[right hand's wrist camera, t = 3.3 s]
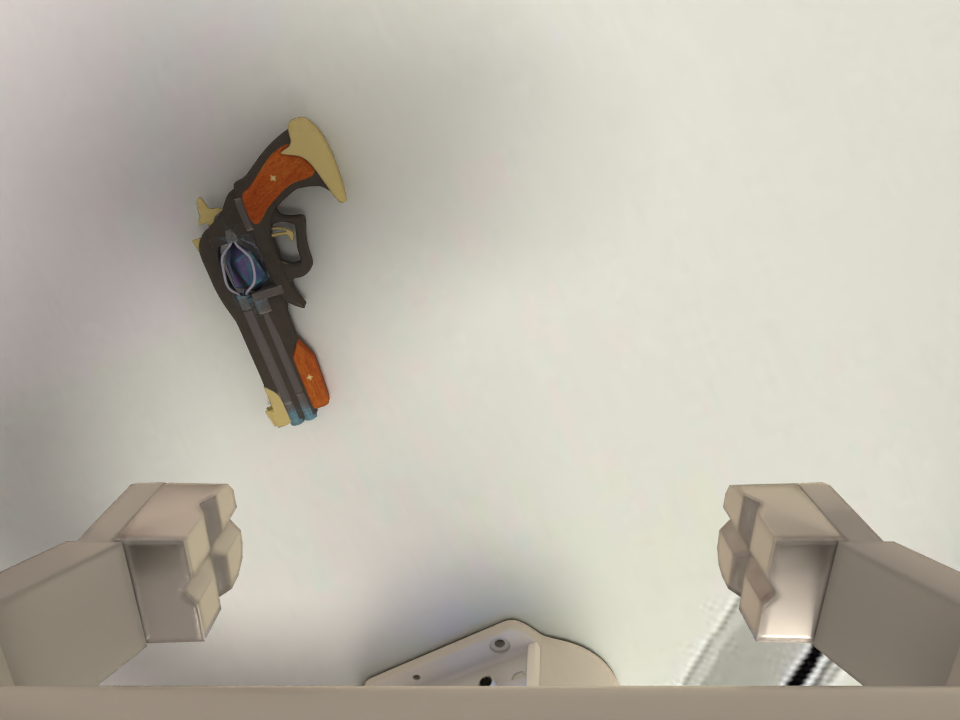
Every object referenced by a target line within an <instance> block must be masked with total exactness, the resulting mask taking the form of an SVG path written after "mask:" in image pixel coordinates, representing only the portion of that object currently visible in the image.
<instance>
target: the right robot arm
mask: <svg viewBox="0 0 960 720" xmlns="http://www.w3.org/2000/svg"><path fill="white" fill-rule="evenodd" d="M236 508H237V505H236V500H235V496H234V491H233V489H232V488H231V487H230V486H229V485H228V484H200V483H164V482H163V483H136V484H132V485H130V486H129V487H128V488H127V489H126V490H125V491H124V492H123V493H122V494H121V495H120V497H119V498H118V499H117V500H116V501H115V502H114V503H113V504H112V505H111V506H110V507H109V508H108V509H107V510H106V511H105V512H104V513H103V514H102V515H101V516H100V517H99V518H98V519H97V521H96V522H95V523H94V524H93V525H92V526H91V527H90V528H89V529H88V530H87V531H86V532H85V533H84V534H83V535H82V536H81V537H80V538H79V539H78V540H77V541H76V542H64V543H62V544H60V545H58V546H56V547H53V548H51V549H49V550H47V551H45V552H43V553H40V554H38V555H36V556H34V557H32V558H30V559H27V560H25V561H23V562H21V563H19V564H16V565H14V566H12V567H10V568H8V569H6V570H3V571H1V572H0V720H960V572H959V571H956V570H954V569H952V568H950V567H948V566H946V565H943V564H941V563H939V562H937V561H935V560H933V559H930V558H928V557H926V556H924V555H922V554H920V553H917V552H915V551H913V550H911V549H909V548H907V547H904V546H902V545H900V544H898V543H896V542H884V541H883V540H882V539H881V538H880V537H879V536H878V535H877V534H876V533H875V532H874V531H873V530H872V529H871V528H870V527H869V526H868V525H867V524H866V523H865V522H864V520H863V519H862V518H861V517H860V516H859V515H858V514H857V513H856V512H855V511H854V510H853V509H852V508H851V507H850V506H849V505H848V504H847V503H846V502H845V501H844V500H843V498H842V497H841V496H840V495H839V494H838V493H837V492H836V491H835V490H834V489H833V488H832V487H831V486H830V485H828V484H825V483H823V482H814V483H791V484H752V485H729V487H728V490H727V492H726V494H725V499H724V505H723V508H724V509H725V511H726V513H727V514H728V516H729V518H730V520H729V521H728V522H727V523H726V524H725V525H724V526H723V527H722V528H721V529H720V530H719V537H718V545H717V551H718V562H719V567H720V571H721V574H722V577H723V579H724V581H725V583H726V585H727V587H728V589H730V590H731V591H733V592H734V593H736V594H737V595H739V596H740V597H741V599H740V605H739V610H740V612H741V614H742V616H743V618H744V620H745V621H746V623H747V625H748V627H749V629H750V631H751V633H752V634H753V636H754V638H755V640H756V641H761V642H797V643H813V646H814V647H815V648H817V649H818V650H819V651H820V652H822V653H823V654H824V655H825V656H827V657H828V658H829V659H830V660H832V661H833V662H834V663H835V664H837V665H838V666H839V667H840V668H842V669H843V670H844V671H845V672H847V673H848V674H849V675H850V676H852V677H853V678H854V679H855V680H857V681H858V682H859V683H860V684H862V685H863V686H618V683H617V680H616V678H615V676H614V674H613V672H612V671H611V669H610V668H609V667H608V666H607V664H606V663H605V662H604V661H603V660H602V659H600V658H599V657H598V656H597V655H595V654H594V653H592V652H591V651H589V650H587V649H585V648H583V647H581V646H579V645H576V644H573V643H570V642H567V641H563V640H558V639H554V638H550V637H547V636H544V635H541V634H540V633H539V632H537V631H536V630H534V629H533V628H531V627H530V626H528V625H526V624H524V623H522V622H520V621H517V620H507V621H504V622H501V623H499V624H496V625H494V626H492V627H489V628H487V629H485V630H482V631H480V632H478V633H475V634H473V635H471V636H468V637H466V638H463V639H461V640H459V641H456V642H454V643H452V644H449V645H447V646H445V647H442V648H440V649H438V650H435V651H433V652H430V653H428V654H426V655H423V656H421V657H419V658H416V659H414V660H412V661H409V662H407V663H405V664H402V665H400V666H397V667H395V668H393V669H390V670H388V671H386V672H383V673H381V674H379V675H376V676H374V677H372V678H370V679H368V680H367V681H366V682H365V685H364V686H97V685H99V684H100V683H101V682H102V681H104V680H105V679H106V678H107V677H109V676H110V675H111V674H112V673H114V672H115V671H116V670H117V669H119V668H120V667H121V666H122V665H124V664H125V663H126V662H127V661H129V660H130V659H131V658H132V657H134V656H135V655H136V654H137V653H139V652H140V651H141V650H142V649H144V648H145V647H146V646H147V644H146V643H162V642H197V641H204V640H205V638H206V636H207V635H208V633H209V631H210V629H211V627H212V625H213V623H214V621H215V620H216V618H217V616H218V614H219V612H220V610H221V605H220V599H219V597H220V596H221V595H223V594H224V593H226V592H227V591H229V590H230V589H232V587H233V585H234V583H235V581H236V579H237V577H238V575H239V570H240V566H241V561H242V536H241V530H240V529H239V528H238V527H237V526H236V525H235V524H234V523H233V522H232V521H231V520H230V518H231V516H232V514H233V513H234V511H235V509H236ZM499 639H500V640H501V641H498V640H499Z"/></svg>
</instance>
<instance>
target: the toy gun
mask: <svg viewBox="0 0 960 720" xmlns="http://www.w3.org/2000/svg"><path fill="white" fill-rule="evenodd" d="M307 186H322V187H324V188H326V189H328V190H330V191H331V192H332V194H333V195H334V196H335V197H336V199H337V200H338V201H339V202H341V203H343V202H345V201H347V198H346V193H345V189H344V186H343V182H342V179H341V176H340V173H339V170H338V167H337V165H336V162H335V159H334V156H333V154H332V151H331V149H330V147H329V145H328V143H327V141H326V140H325V138H324V136H323V135H322V133H321V132H320V130H319V129H318V128H317V127H316V126H315V125H314V124H313V123H312V122H311V121H310V120H308V119H306V118H304V117H299V118H296V119H293V120H291V121H290V122H289V124H288V130H286V131H285V132H283V133H282V134H281V135H279V136H278V137H277V138H276V139H275V140H274V141H273V142H272V143H271V144H270V145H269V146H268V147H267V148H266V149H265V150H264V152H263V153H262V154H261V155H260V157H259V158H258V159H257V161H256V162H255V164H254V165H253V166H252V168H251V169H250V171H249V172H248V173H247V175H246V176H245V177H244V178H242V179H240V180H238V181H236V182H235V184H234V189H233V190H232V191H231V192H230V193H229V194H228V196H227V198H226V201H225V204H224V206H223V209H221V208H213V209H210V208H209V207H208V206H207V205H206V203H205V202H204V201H203V199H202V198H201V197H199V198H198V200H197V208H198V212H199V215H200V218H199V225H202V224H204V223H207V224H208V225H209V228H208V229H207V230H206V231H205V232H204V233H203V235H202V237H201V238H199V239H195V240H192V241H193V243H194V244H195V246H196V248H197V249H198V251H199V253H200V255H201V258H202V261H203V263H204V265H205V268H206V270H207V272H208V274H209V277H210V279H211V281H212V283H213V286H214V288H215V290H216V292H217V293H218V295H219V297H220V299H221V300H222V302H223V304H224V305H225V307H226V308H227V310H228V311H229V312H230V314H231V315H232V317H233V318H234V319H235V321H236V322H237V324H238V326H239V329H240V331H241V333H242V335H243V338H244V340H245V342H246V345H247V347H248V349H249V351H250V354H251V356H252V358H253V360H254V363H255V365H256V367H257V369H258V372H259V374H260V376H261V379H262V381H263V384H264V388H265V391H266V393H267V395H268V398H269V400H270V403H271V405H272V406H271V407H267V411H265V412H266V414H267V415H268V417H269V418H270V420H271V421H272V423H273V424H274V426H278V427H282V426H285V425H287V424H289V423H290V422H291V425H293V426H296V425H299V424H301V423H303V422H304V419H305V420H312V419H314V418H315V417H317V408H319V407H323V406H325V405H327V404H328V403H329V394H328V391H327V388H326V385H325V382H324V379H323V376H322V374H321V371H320V368H319V365H318V362H317V360H316V357H315V355H314V353H313V352H312V351H311V350H310V349H309V348H308V347H307V346H306V345H305V344H304V343H303V342H302V341H301V340H300V339H299V338H298V337H297V335H296V332H295V330H294V327H293V325H292V322H291V320H290V316H289V313H288V307H287V302H289V303H291V304H293V305H295V306H298V307H301V308H305V305H306V301H305V300H304V299H303V297H302V296H301V295H300V294H299V292H298V291H297V290H296V288H295V286H294V284H293V283H292V280H293V279H294V278H298V277H302V276H304V275H305V274H307V273H308V272H309V271H310V269H311V267H312V265H313V259H312V256H311V254H310V251H309V248H308V243H307V237H306V218H305V216H304V215H302V214H298V215H284V214H281V213H280V212H279V211H278V210H277V206H278V205H279V204H280V203H281V202H282V201H283V200H284V199H285V198H286V197H287V196H288V195H289V194H290V193H292V192H293V191H294V190H296V189H298V188H302V187H307ZM278 222H289V223H292V224H294V225H295V227H296V236H297V247H298V251H299V254H300V258H301V260H300V261H298V262H290V261H287V260H284V259H282V257H281V254H280V252H279V249H278V247H277V244H276V242H275V239H274V237H275V236H280V235H288V236H289V238H290V239H291V241H293V240H294V231H292V230H290V229H287V228H284V227H273V224H274V223H278ZM275 229H283V230H285V231H286V232H278V233H272V230H275ZM249 237H253V238H254V240H255V242H256V245H257V246H256V245H255V244H253V243H252V242H250V241H248V240H245V239H246V238H249ZM239 240H241V241H243V242H246V243H249V244H250V245H252V246H253V247H255V248H256V249H257V250H258V252H259V253H260V255H261V261H260V260H259V259H258V258H257V257H256V256H255V255H254V254H252V253H251V252H250V251H249V250H247V249H245V248H244V247H242V246H240V245H239V244H237V242H236V241H239ZM224 244H229V245H228V246H227V248H226V249H225V250H224V251H223V253H222V255H221V253H220V248H221V245H224ZM227 250H228V251H227ZM226 252H227V254H226V258H225V262H226V264H227V267H228V269H229V272H230V275H231V277H232V280H233V283H234V285H235V287H236V288H242V289H243V292H242V293H238V292H237V291H236V290H235V289H234V287H233V286H232V284H231V282H230V279H229V277H228V275H227V273H226V270H225V268H224V255H225V253H226ZM262 262H264V264H265V266H266V268H267V270H268V272H269V274H270V276H271V278H272V280H273V283H269V284H265V285H263V284H264V283H265V282H266V281H267V280H268V276H267V274H266V271H265V269H264V266H263V264H262ZM245 289H247V291H246V292H245ZM250 290H253V291H255V292H252V294H251V293H250V292H249V291H250Z"/></svg>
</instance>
